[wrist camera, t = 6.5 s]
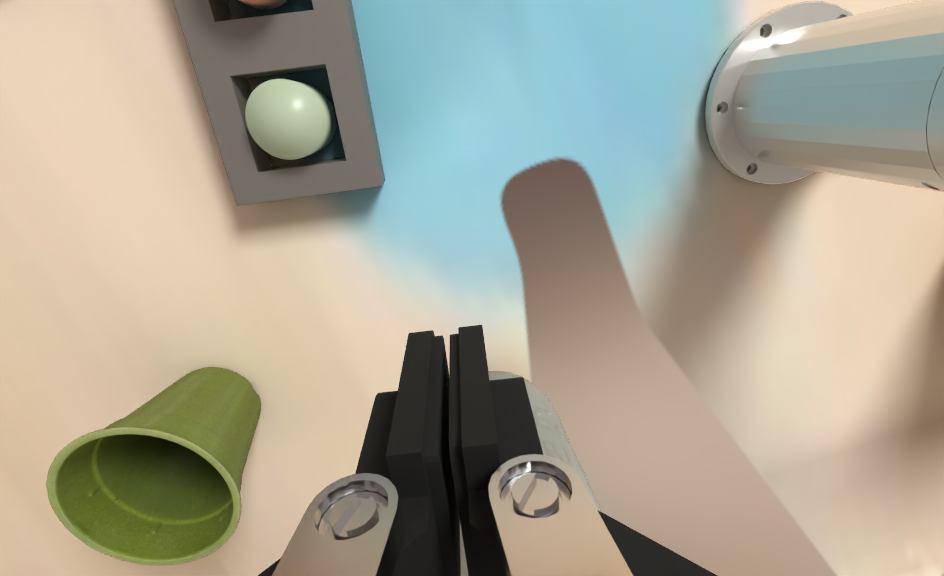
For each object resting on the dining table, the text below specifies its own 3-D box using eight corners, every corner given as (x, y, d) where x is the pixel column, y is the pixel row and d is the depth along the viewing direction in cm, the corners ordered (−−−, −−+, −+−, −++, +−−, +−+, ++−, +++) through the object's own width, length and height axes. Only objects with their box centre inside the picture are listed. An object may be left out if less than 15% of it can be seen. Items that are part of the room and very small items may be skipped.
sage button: (327, 78, 32) (313, 73, 28) (342, 149, 34) (332, 154, 30) (257, 86, 32) (235, 84, 28) (276, 158, 34) (258, 164, 30)
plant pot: (130, 344, 38) (16, 433, 28) (277, 339, 39) (222, 423, 29) (163, 459, 42) (76, 573, 32) (296, 452, 43) (253, 561, 33)
